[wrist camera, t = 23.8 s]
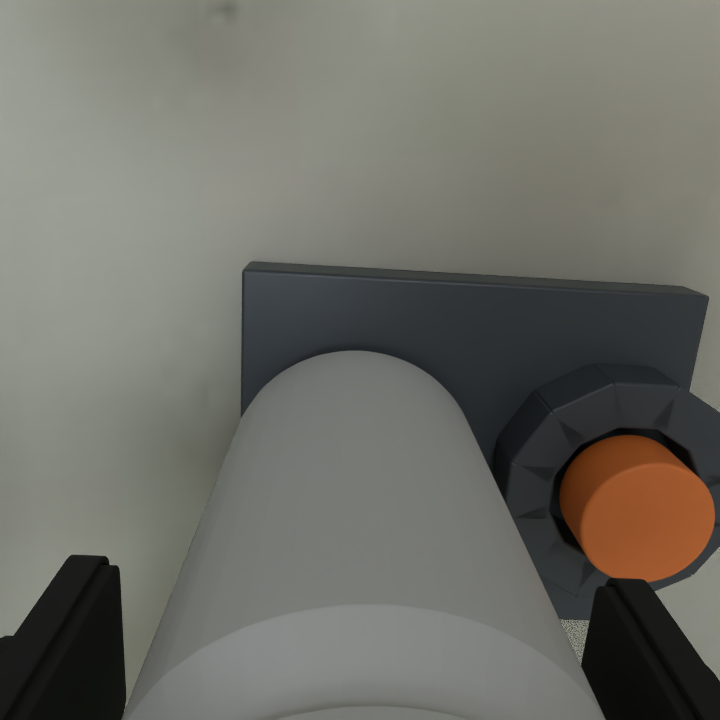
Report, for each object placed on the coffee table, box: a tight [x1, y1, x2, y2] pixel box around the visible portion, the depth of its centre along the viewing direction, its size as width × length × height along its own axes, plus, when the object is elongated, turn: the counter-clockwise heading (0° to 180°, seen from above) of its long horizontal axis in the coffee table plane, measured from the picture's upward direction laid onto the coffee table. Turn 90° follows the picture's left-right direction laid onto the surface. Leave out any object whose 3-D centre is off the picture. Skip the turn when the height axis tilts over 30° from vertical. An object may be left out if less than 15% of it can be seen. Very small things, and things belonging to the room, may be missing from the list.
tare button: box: [559, 435, 715, 582], centre depth 17 cm, size 3×3×2 cm
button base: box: [241, 262, 720, 620], centre depth 18 cm, size 13×10×3 cm
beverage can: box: [121, 351, 606, 720], centre depth 13 cm, size 6×6×12 cm
